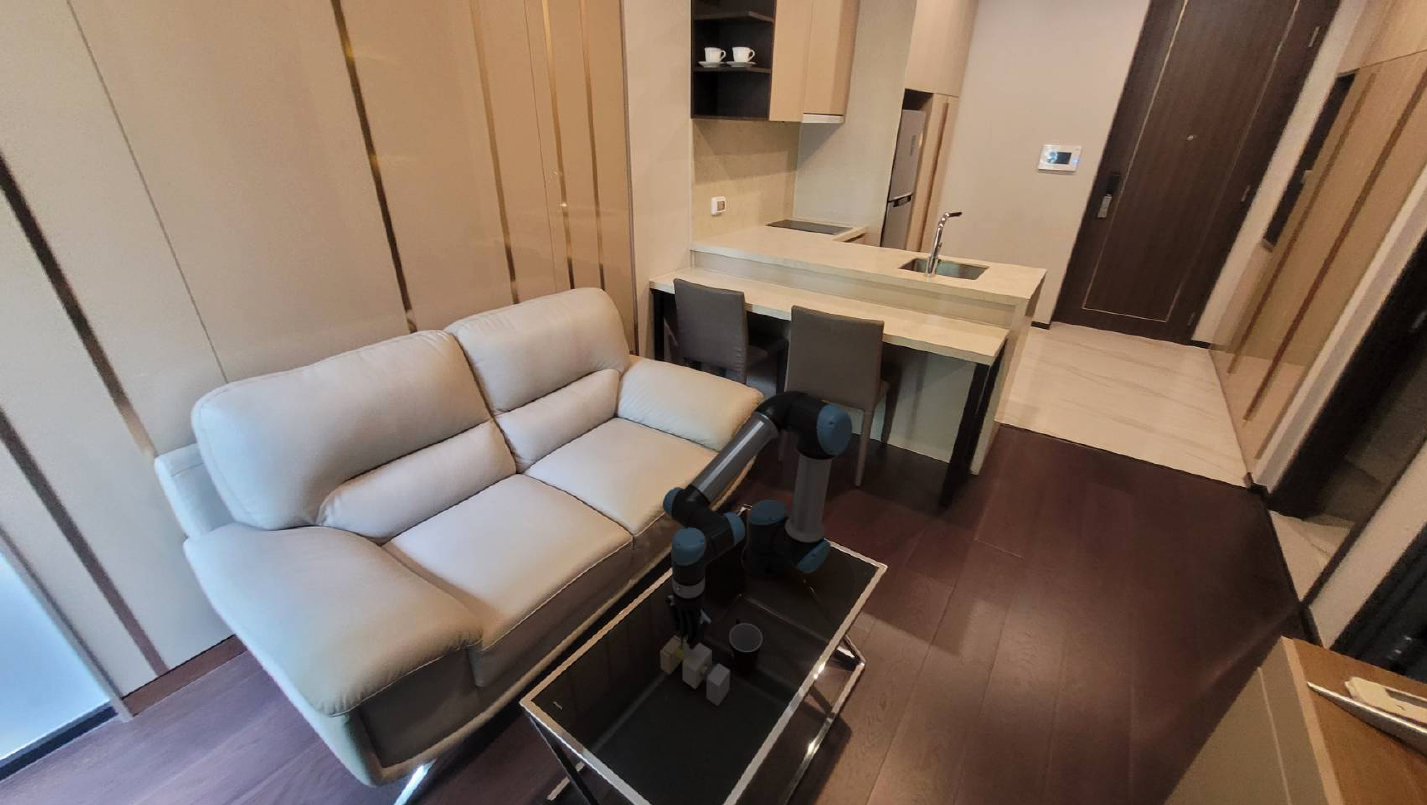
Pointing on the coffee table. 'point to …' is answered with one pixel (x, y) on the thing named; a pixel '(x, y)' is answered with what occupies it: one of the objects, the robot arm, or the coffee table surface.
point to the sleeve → (696, 665)
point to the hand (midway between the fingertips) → (688, 653)
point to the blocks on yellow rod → (713, 675)
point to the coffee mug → (744, 646)
